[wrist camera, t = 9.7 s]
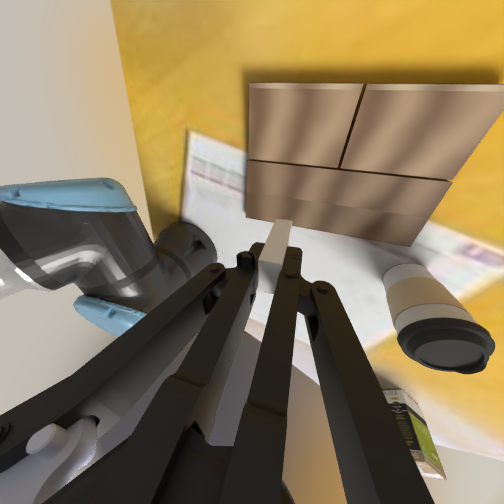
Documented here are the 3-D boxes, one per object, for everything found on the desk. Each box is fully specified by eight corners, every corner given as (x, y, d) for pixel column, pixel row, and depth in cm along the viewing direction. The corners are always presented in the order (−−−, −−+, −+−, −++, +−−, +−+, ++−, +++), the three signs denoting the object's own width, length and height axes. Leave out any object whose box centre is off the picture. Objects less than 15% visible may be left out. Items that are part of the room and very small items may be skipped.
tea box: (369, 406, 62) (380, 470, 50) (351, 390, 60) (358, 453, 48) (421, 405, 53) (449, 484, 41) (401, 387, 51) (425, 464, 40)
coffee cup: (365, 282, 36) (386, 356, 25) (403, 249, 31) (454, 325, 19) (406, 302, 36) (448, 387, 24) (452, 273, 30) (535, 365, 19)
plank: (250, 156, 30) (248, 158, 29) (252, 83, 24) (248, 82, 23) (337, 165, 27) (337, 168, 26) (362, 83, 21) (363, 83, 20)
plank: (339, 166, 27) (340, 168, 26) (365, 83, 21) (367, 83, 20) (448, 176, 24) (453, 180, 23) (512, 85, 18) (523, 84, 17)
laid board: (247, 215, 36) (245, 217, 35) (249, 159, 30) (247, 160, 29) (407, 243, 30) (409, 246, 29) (447, 180, 24) (452, 182, 23)
